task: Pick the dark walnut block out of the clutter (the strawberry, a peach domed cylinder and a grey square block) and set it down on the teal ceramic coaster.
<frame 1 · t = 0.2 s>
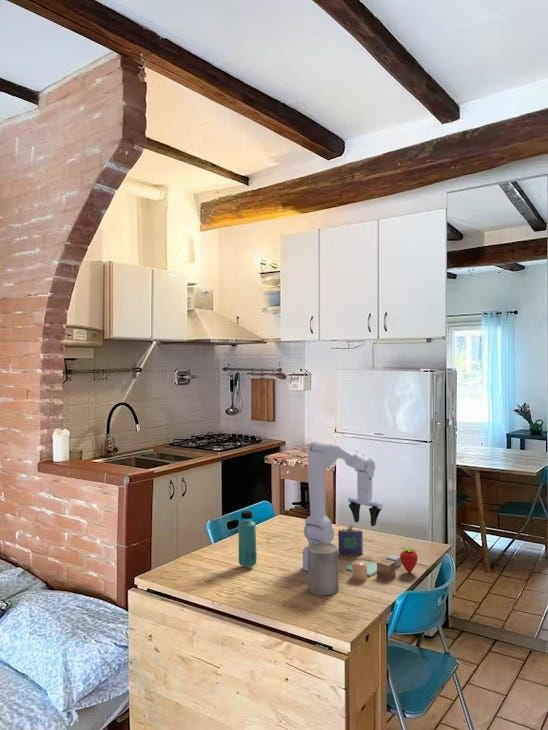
hand: (364, 523, 218), 10 cm above the table, fingers open, 7 cm apart
walnut block: (386, 576, 191), on the table
beverage bottle: (247, 568, 200), on the table
coaster: (365, 569, 198), on the table
flask: (350, 554, 213), on the table
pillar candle: (323, 590, 181), on the table
peach domed cylinder: (359, 578, 190), on the table
strawberry: (408, 573, 194), on the table
grey square block: (393, 565, 202), on the table
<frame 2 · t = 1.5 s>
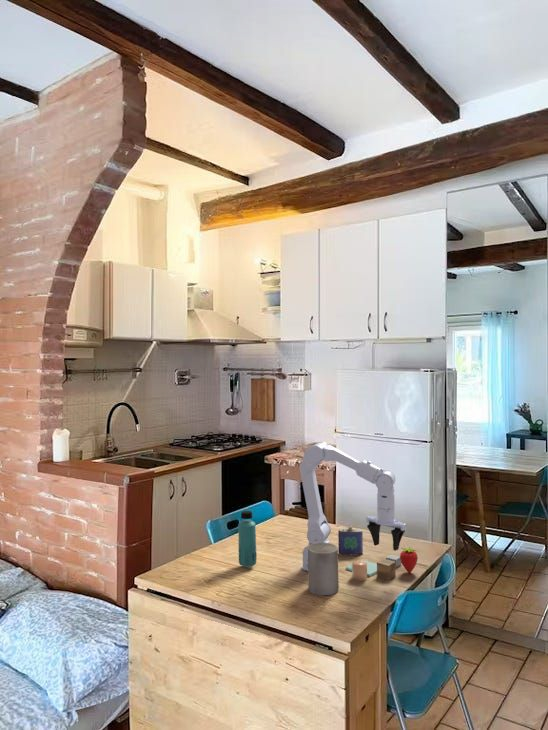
hand: (386, 547, 191), 10 cm above the table, fingers open, 7 cm apart
nothing on the table moved.
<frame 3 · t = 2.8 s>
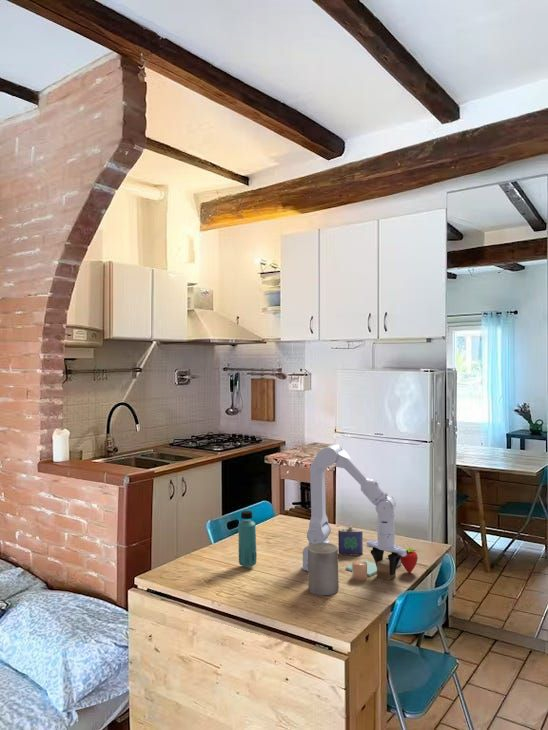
hand: (386, 572, 191), 1 cm above the table, fingers closed on walnut block, 4 cm apart
walnut block: (386, 576, 191), on the table, touching gripper
everything else where it was.
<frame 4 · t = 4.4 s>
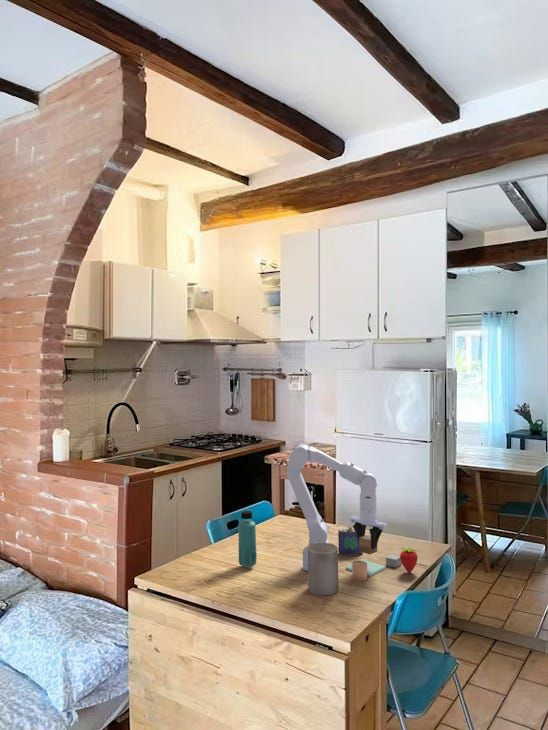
hand: (368, 546, 197), 8 cm above the table, fingers closed on walnut block, 4 cm apart
walnut block: (368, 551, 197), point 7 cm above the table, touching gripper
everything else where it was.
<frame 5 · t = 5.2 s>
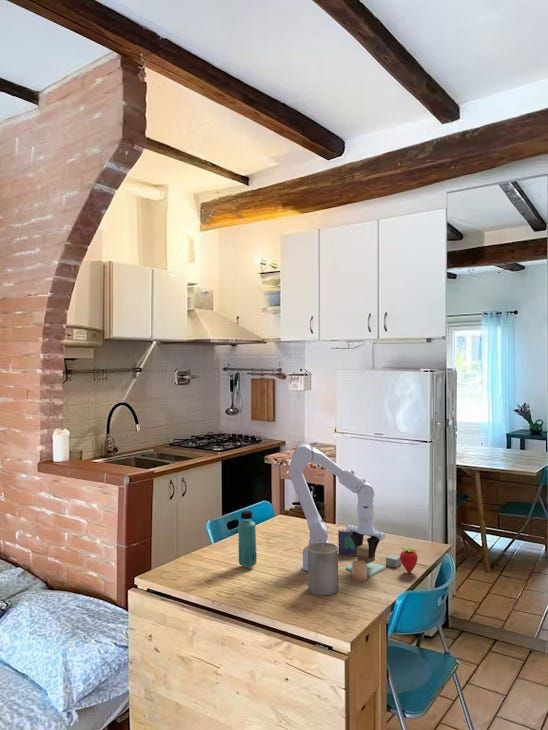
hand: (365, 555, 198), 5 cm above the table, fingers closed on walnut block, 4 cm apart
walnut block: (366, 560, 198), point 3 cm above the table, touching gripper
everything else where it was.
when the fingers open (3 cm above the table, at t = 6.0 s): walnut block stays where it is, resting on coaster.
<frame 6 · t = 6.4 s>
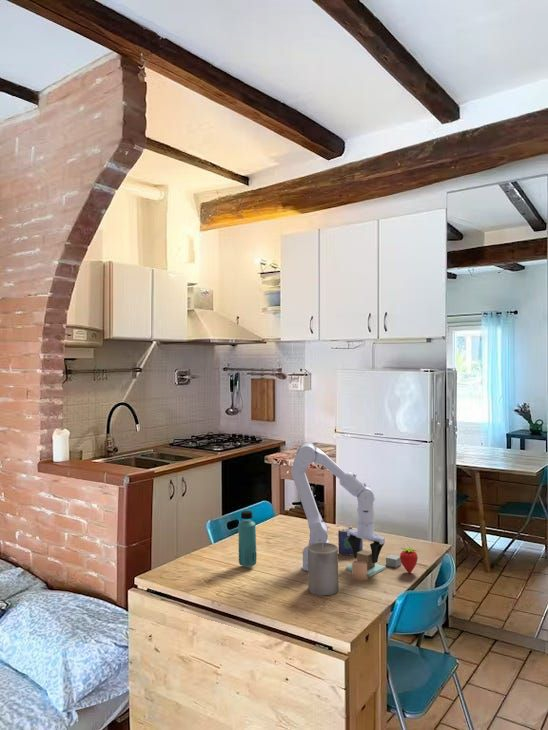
hand: (365, 559, 198), 3 cm above the table, fingers open, 7 cm apart
walnut block: (365, 566, 198), point 1 cm above the table, touching coaster
everything else where it was.
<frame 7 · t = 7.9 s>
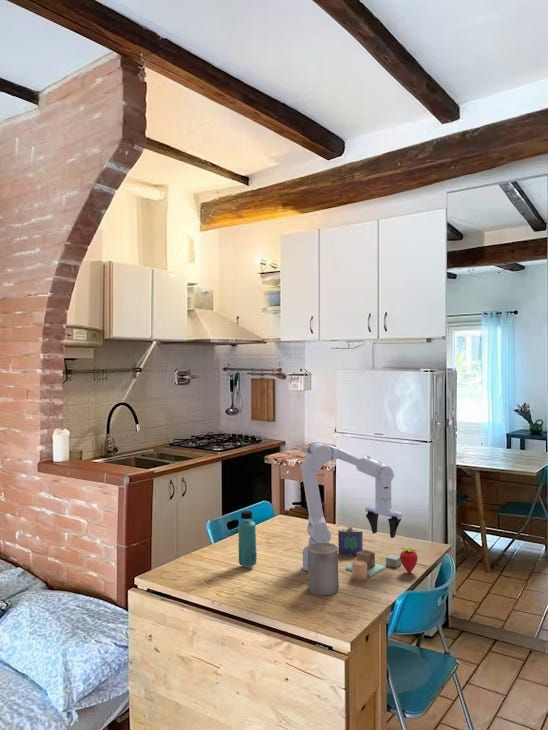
hand: (383, 535, 204), 10 cm above the table, fingers open, 7 cm apart
nothing on the table moved.
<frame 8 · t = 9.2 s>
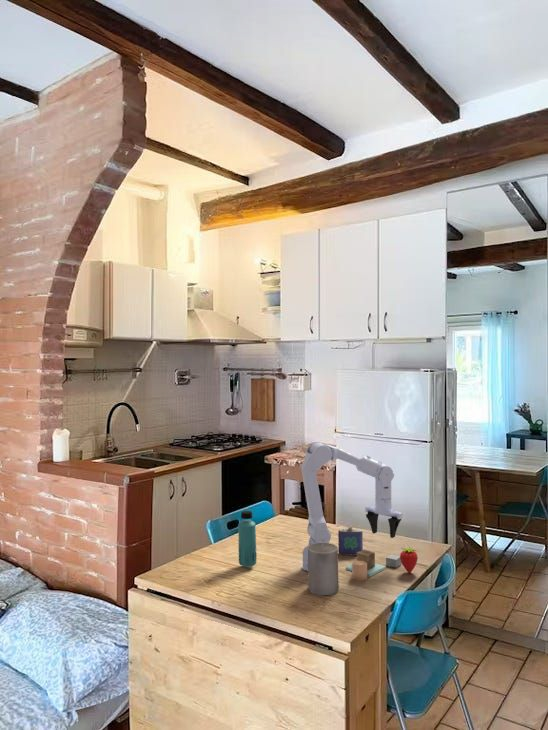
hand: (383, 535, 204), 10 cm above the table, fingers open, 7 cm apart
nothing on the table moved.
at the end: walnut block inside the target area on the coaster (0.1 cm from its centre), point 0.8 cm above the coaster's base; walnut block tilted 0°; the gripper is holding nothing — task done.
